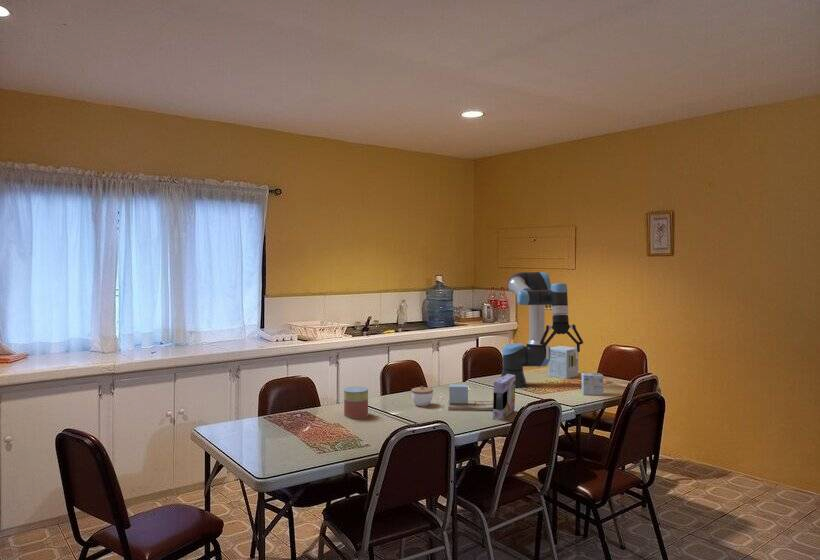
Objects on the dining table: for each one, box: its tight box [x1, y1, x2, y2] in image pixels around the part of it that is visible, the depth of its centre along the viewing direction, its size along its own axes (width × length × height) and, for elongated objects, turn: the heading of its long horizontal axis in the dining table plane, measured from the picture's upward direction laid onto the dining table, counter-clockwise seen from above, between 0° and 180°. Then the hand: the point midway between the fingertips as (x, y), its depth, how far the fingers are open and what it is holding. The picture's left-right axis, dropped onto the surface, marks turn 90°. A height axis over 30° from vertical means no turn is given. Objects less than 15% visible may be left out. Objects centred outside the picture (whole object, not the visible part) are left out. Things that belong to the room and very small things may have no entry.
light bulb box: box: [581, 372, 605, 396], centre depth 310 cm, size 11×7×11 cm, turn 84°
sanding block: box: [448, 383, 469, 405], centre depth 284 cm, size 5×9×9 cm, turn 86°
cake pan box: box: [492, 374, 516, 421], centre depth 268 cm, size 19×5×18 cm, turn 151°
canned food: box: [343, 386, 369, 419], centre depth 270 cm, size 11×11×12 cm
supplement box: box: [548, 345, 579, 380], centre depth 357 cm, size 13×13×18 cm
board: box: [447, 400, 493, 411], centre depth 283 cm, size 13×26×2 cm, turn 86°
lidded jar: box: [410, 385, 434, 407], centre depth 288 cm, size 11×11×9 cm
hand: (562, 359), depth 278 cm, fingers open, 13 cm apart
